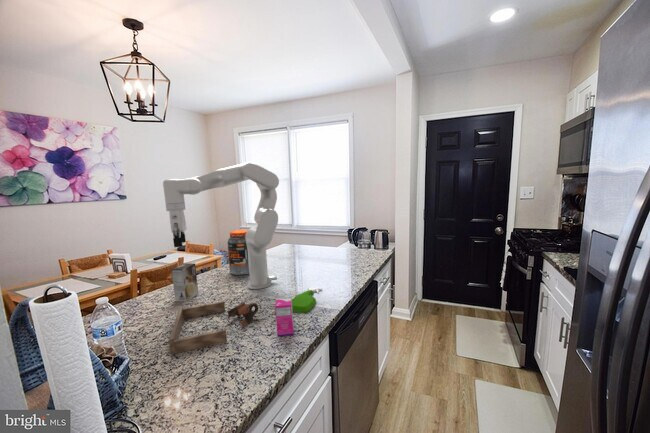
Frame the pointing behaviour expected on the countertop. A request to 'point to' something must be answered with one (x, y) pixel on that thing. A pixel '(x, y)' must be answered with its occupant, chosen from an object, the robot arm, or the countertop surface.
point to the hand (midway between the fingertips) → (180, 244)
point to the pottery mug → (244, 312)
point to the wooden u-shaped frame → (197, 340)
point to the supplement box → (284, 317)
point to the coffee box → (185, 281)
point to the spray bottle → (304, 301)
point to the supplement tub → (238, 253)
